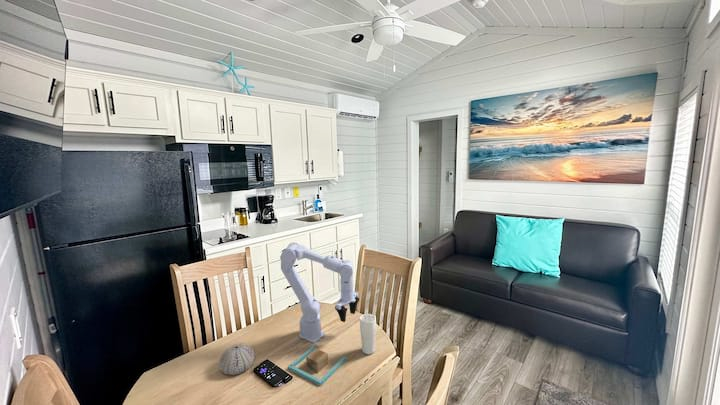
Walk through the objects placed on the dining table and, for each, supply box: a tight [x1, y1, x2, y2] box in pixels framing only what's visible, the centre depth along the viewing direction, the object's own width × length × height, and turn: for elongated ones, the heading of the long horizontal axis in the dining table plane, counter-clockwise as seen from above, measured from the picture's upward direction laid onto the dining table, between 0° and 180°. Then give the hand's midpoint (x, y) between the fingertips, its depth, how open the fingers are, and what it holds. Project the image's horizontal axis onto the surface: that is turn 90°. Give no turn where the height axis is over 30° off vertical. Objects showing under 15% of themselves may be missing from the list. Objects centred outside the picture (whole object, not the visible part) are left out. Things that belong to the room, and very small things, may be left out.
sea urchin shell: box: [218, 343, 256, 376], centre depth 116 cm, size 13×14×8 cm
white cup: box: [359, 313, 377, 355], centre depth 122 cm, size 7×7×15 cm
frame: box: [287, 343, 347, 387], centre depth 116 cm, size 16×16×1 cm
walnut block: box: [305, 348, 329, 373], centre depth 115 cm, size 6×6×4 cm
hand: (347, 317), depth 132 cm, fingers open, 7 cm apart
